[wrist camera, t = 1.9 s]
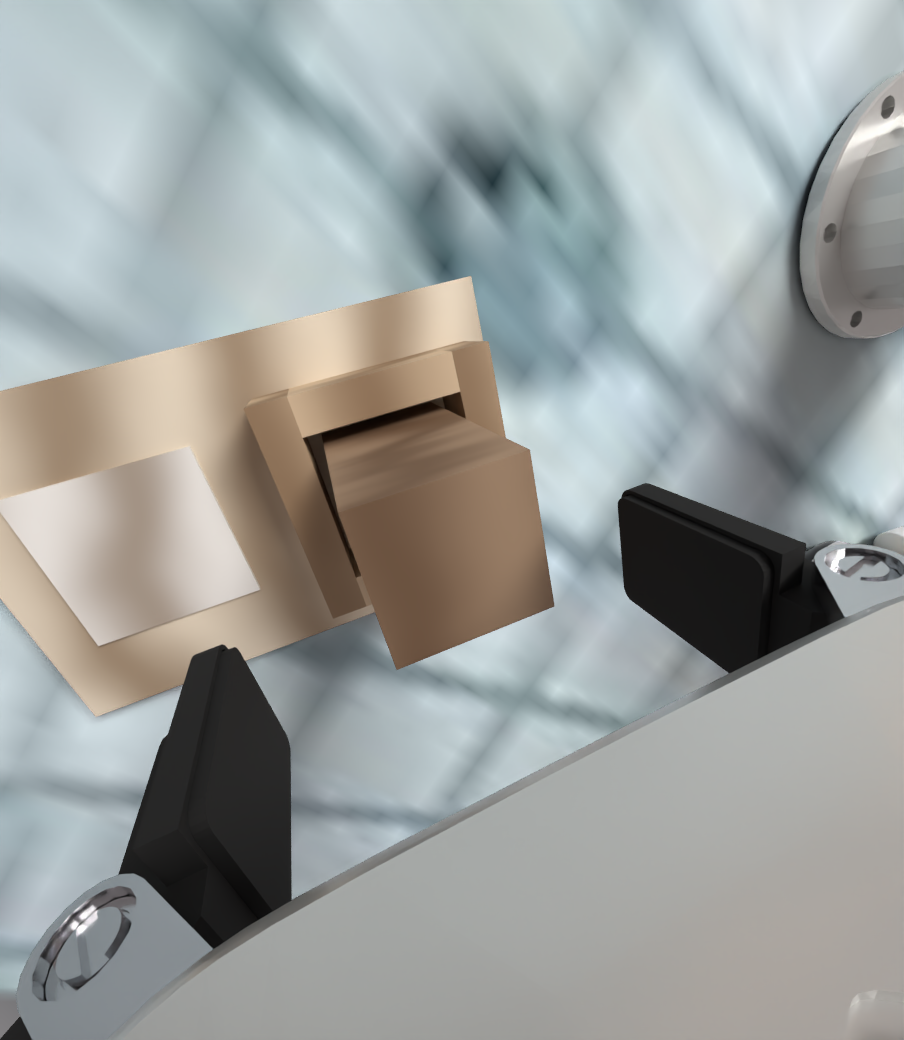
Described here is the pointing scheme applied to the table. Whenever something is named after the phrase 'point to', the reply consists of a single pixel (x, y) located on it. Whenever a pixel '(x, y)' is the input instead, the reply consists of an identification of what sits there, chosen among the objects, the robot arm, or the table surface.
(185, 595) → the pocket board
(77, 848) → the table surface
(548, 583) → the walnut block
